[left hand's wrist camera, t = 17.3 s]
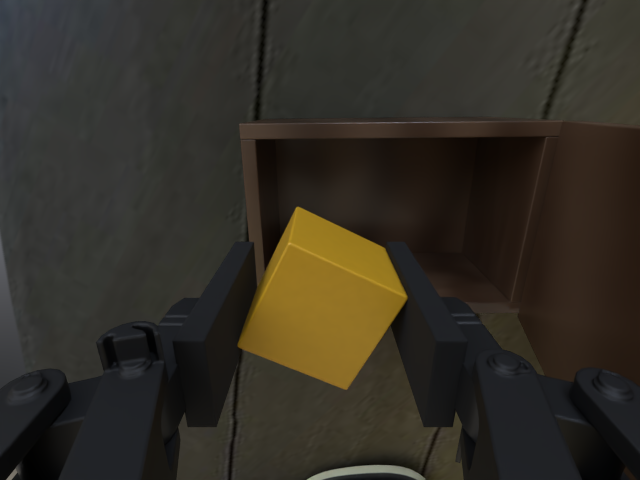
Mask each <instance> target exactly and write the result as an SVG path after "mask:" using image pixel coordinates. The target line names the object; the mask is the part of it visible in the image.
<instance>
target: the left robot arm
mask: <svg viewBox="0 0 640 480" xmlns="http://www.w3.org/2000/svg"><path fill="white" fill-rule="evenodd" d="M386 251H387V254H388V256H389V258H390V260H391V262H392V264H393V266H394V268H395V271H396V273H397V275H398V277H399V279H400V281H401V283H402V285H403V287H404V290H405V292H406V294H407V296H408V300H407V301H406V303H405V304H404V306H403V307H402V309H401V310H400V312H399V313H398V315H397V316H396V318H395V319H394V321H393V322H392V324H391V328H392V331H393V334H394V337H395V340H396V343H397V346H398V349H399V352H400V355H401V358H402V361H403V365H404V368H405V371H406V374H407V377H408V380H409V383H410V386H411V389H412V392H413V395H414V398H415V401H416V404H417V407H418V410H419V413H420V417H421V420H422V423H423V426H424V427H453V422H454V417H455V411H456V412H457V414H458V416H459V418H460V421H461V423H462V429H461V434H460V439H459V445H458V450H457V455H456V462H458V463H460V461H461V457H462V467H463V476H464V480H630V479H629V478H628V476H627V475H626V474H625V473H624V469H625V467H627V468H628V470H629V471H630V472H631V473H632V475H633V476H634V477H635V478H636V479H637V480H640V386H638V385H637V384H636V383H634V382H633V381H631V380H629V379H627V378H625V377H623V376H621V375H620V374H618V373H615V372H611V371H609V370H605V369H600V368H593V367H589V368H581V369H580V370H579V371H577V372H576V375H575V378H574V381H573V382H570V381H565V380H561V379H556V378H551V377H547V376H543V375H539V374H537V373H536V371H535V369H534V368H533V366H532V365H531V364H530V363H529V362H528V361H526V360H525V359H524V358H522V357H521V356H519V355H517V354H514V353H512V352H510V351H506V350H502V348H501V347H500V346H499V344H498V343H497V342H496V341H495V339H494V338H493V337H492V335H491V334H490V333H489V331H488V330H487V329H486V327H485V326H484V325H483V324H482V322H481V321H480V320H479V318H478V317H477V316H476V314H475V313H474V312H473V310H472V309H471V308H470V306H469V305H468V304H466V303H465V302H463V301H462V300H460V299H459V298H457V297H440V296H439V295H438V293H437V291H436V290H435V288H434V287H433V285H432V284H431V282H430V281H429V279H428V277H427V276H426V274H425V273H424V271H423V270H422V268H421V266H420V265H419V263H418V262H417V260H416V259H415V257H414V256H413V254H412V252H411V251H410V249H409V248H408V246H407V245H406V243H405V242H386ZM256 290H257V276H256V263H255V249H254V242H235V244H234V245H233V247H232V248H231V250H230V252H229V253H228V255H227V256H226V258H225V259H224V261H223V262H222V264H221V266H220V267H219V269H218V270H217V272H216V273H215V275H214V276H213V278H212V280H211V281H210V283H209V284H208V286H207V287H206V289H205V291H204V292H203V294H202V295H201V297H200V298H184V299H182V300H181V301H179V302H178V303H176V304H175V305H173V306H172V307H171V308H170V310H169V311H168V312H167V314H166V315H165V318H163V319H162V320H161V322H160V323H159V326H157V325H155V324H154V323H151V322H147V321H138V322H131V323H127V324H122V325H120V326H118V327H115V328H113V329H111V330H109V331H108V332H106V333H105V334H103V335H102V336H101V337H100V338H99V339H98V341H97V342H96V344H97V348H98V352H99V355H100V359H101V362H102V366H103V370H104V373H103V375H102V376H99V377H96V378H91V379H86V380H82V381H77V382H73V383H68V382H67V379H66V376H65V374H64V373H63V372H62V371H60V370H57V369H44V370H37V371H34V372H31V373H27V374H25V375H22V376H21V377H19V378H17V379H15V380H13V381H11V382H9V383H8V384H6V385H5V386H4V387H2V388H1V389H0V480H6V479H7V478H8V476H9V475H10V474H11V473H12V472H13V470H14V469H15V468H16V470H17V472H18V473H17V474H16V475H15V476H14V478H13V479H12V480H176V477H177V468H178V458H179V449H180V435H179V429H178V426H179V423H180V421H181V419H182V417H183V414H184V412H185V414H186V420H187V426H188V427H217V424H218V421H219V418H220V415H221V412H222V409H223V405H224V402H225V399H226V396H227V393H228V390H229V387H230V384H231V381H232V378H233V375H234V372H235V369H236V366H237V363H238V360H239V356H240V353H241V350H242V349H241V348H238V346H237V344H238V341H239V338H240V335H241V332H242V329H243V326H244V324H245V321H246V318H247V315H248V312H249V309H250V307H251V304H252V301H253V298H254V295H255V292H256Z"/></svg>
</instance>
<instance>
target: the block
mask: <svg viewBox="0 0 640 480" xmlns="http://www.w3.org/2000/svg"><path fill="white" fill-rule="evenodd" d="M407 300H408V296H407V294H406V292H405V290H404V287H403V285H402V283H401V281H400V279H399V277H398V275H397V273H396V271H395V268H394V266H393V264H392V262H391V260H390V258H389V256H388V254H387V251H386V249H385V248H384V247H382V246H380V245H378V244H376V243H373V242H371V241H369V240H367V239H365V238H363V237H361V236H359V235H357V234H355V233H353V232H350V231H348V230H346V229H344V228H342V227H340V226H338V225H336V224H334V223H332V222H330V221H327V220H325V219H323V218H321V217H319V216H317V215H315V214H313V213H311V212H309V211H307V210H304V209H302V208H300V207H296V209H295V211H294V213H293V215H292V217H291V219H290V221H289V223H288V225H287V227H286V229H285V231H284V233H283V235H282V237H281V239H280V242H279V244H278V246H277V248H276V250H275V252H274V254H273V256H272V258H271V260H270V262H269V264H268V266H267V268H266V270H265V272H264V274H263V276H262V278H261V280H260V282H259V284H258V287H257V290H256V292H255V295H254V298H253V301H252V304H251V307H250V309H249V312H248V315H247V318H246V321H245V324H244V326H243V329H242V332H241V335H240V338H239V341H238V344H237V346H238V348H241V349H243V350H246V351H248V352H251V353H253V354H256V355H259V356H261V357H264V358H266V359H269V360H271V361H274V362H276V363H279V364H281V365H284V366H286V367H289V368H291V369H294V370H296V371H299V372H302V373H304V374H307V375H309V376H312V377H314V378H317V379H319V380H322V381H324V382H327V383H329V384H332V385H334V386H337V387H340V388H342V389H345V390H347V389H348V388H349V386H350V385H351V383H352V382H353V380H354V379H355V377H356V376H357V374H358V373H359V371H360V370H361V368H362V367H363V365H364V364H365V362H366V361H367V359H368V358H369V356H370V355H371V353H372V352H373V350H374V349H375V347H376V346H377V344H378V343H379V341H380V340H381V338H382V337H383V335H384V334H385V333H386V331H387V330H388V328H389V327H390V325H391V324H392V322H393V321H394V319H395V318H396V316H397V315H398V313H399V312H400V310H401V309H402V307H403V306H404V304H405V303H406V301H407Z"/></svg>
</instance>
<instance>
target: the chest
mask: <svg viewBox="0 0 640 480" xmlns="http://www.w3.org/2000/svg"><path fill="white" fill-rule="evenodd" d="M562 122H563V120H542V119H521V118H500V117H420V118H315V119H263V120H257V121H252V122H246V123H241V124H239V129H240V139H242V140H241V152H242V163H243V175H244V186H245V197H246V209H247V220H248V232H249V242H254V249H255V263H256V276H257V287H258V284H259V282H260V280H261V278H262V276H263V274H264V272H265V270H266V268H267V266H268V264H269V262H270V260H271V258H272V256H273V254H274V252H275V250H276V248H277V246H278V244H279V242H280V239H281V237H282V235H283V233H284V231H285V229H286V227H287V225H288V223H289V221H290V219H291V217H292V215H293V213H294V211H295V209H296V207H300V208H302V209H304V210H307V211H309V212H311V213H313V214H315V215H317V216H319V217H321V218H323V219H325V220H327V221H330V222H332V223H334V224H336V225H338V226H340V227H342V228H344V229H346V230H348V231H350V232H353V233H355V234H357V235H359V236H361V237H363V238H365V239H367V240H369V241H371V242H373V243H376V244H378V245H380V246H382V247H384V248H385V249H386V242H405V243H406V245H407V246H408V248H409V249H410V251H411V252H412V254H413V256H414V257H415V259H416V260H417V262H418V263H419V265H420V266H421V268H422V270H423V271H424V273H425V274H426V276H427V277H428V279H429V281H430V282H431V284H432V285H433V287H434V288H435V290H436V291H437V293H438V295H439V296H440V297H457V298H459V299H460V300H462V301H463V302H465V303H466V304H468V305H469V306H470V308H471V309H472V310H473V312H474V313H519V309H520V304H521V300H522V295H523V291H524V287H525V282H526V278H527V274H528V269H529V265H530V260H531V256H532V252H533V247H534V243H535V239H536V234H537V230H538V225H539V221H540V217H541V212H542V208H543V204H544V199H545V195H546V190H547V186H548V182H549V177H550V173H551V169H552V164H553V160H554V155H555V151H556V147H557V142H558V138H559V133H560V129H561V125H562Z"/></svg>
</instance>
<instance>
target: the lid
mask: <svg viewBox="0 0 640 480" xmlns="http://www.w3.org/2000/svg"><path fill="white" fill-rule="evenodd" d="M518 318H519V320H520V323H521V325H522V327H523V329H524V331H525V333H526V335H527V338H528V340H529V342H530V344H531V346H532V348H533V350H534V352H535V355H536V357H537V359H538V361H539V363H540V365H541V367H542V370H543V372H544V374H545V376H547V377H551V378H556V379H561V380H565V381H570V382H573V381H574V378H575V375H576V372H577V371H579V370H580V369H581V368H589V367H593V368H600V369H605V370H609V371H611V372H615V373H618V374H620V375H621V376H623V377H625V378H627V379H629V380H631V381H633V382H634V383H636V384H637V385H638V386H640V126H639V125H626V124H614V123H601V122H589V121H563V122H562V125H561V129H560V133H559V138H558V142H557V147H556V151H555V155H554V160H553V164H552V169H551V173H550V177H549V182H548V186H547V190H546V195H545V199H544V204H543V208H542V212H541V217H540V221H539V225H538V230H537V234H536V239H535V243H534V247H533V252H532V256H531V260H530V265H529V269H528V274H527V278H526V282H525V287H524V291H523V295H522V300H521V304H520V309H519V313H518ZM624 473H625V474H626V475H627V476H628V478H629V479H630V480H637V479H636V478H635V477H634V476H633V475H632V473H631V472H630V471H629V470H628V468H627V467H625V469H624Z"/></svg>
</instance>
